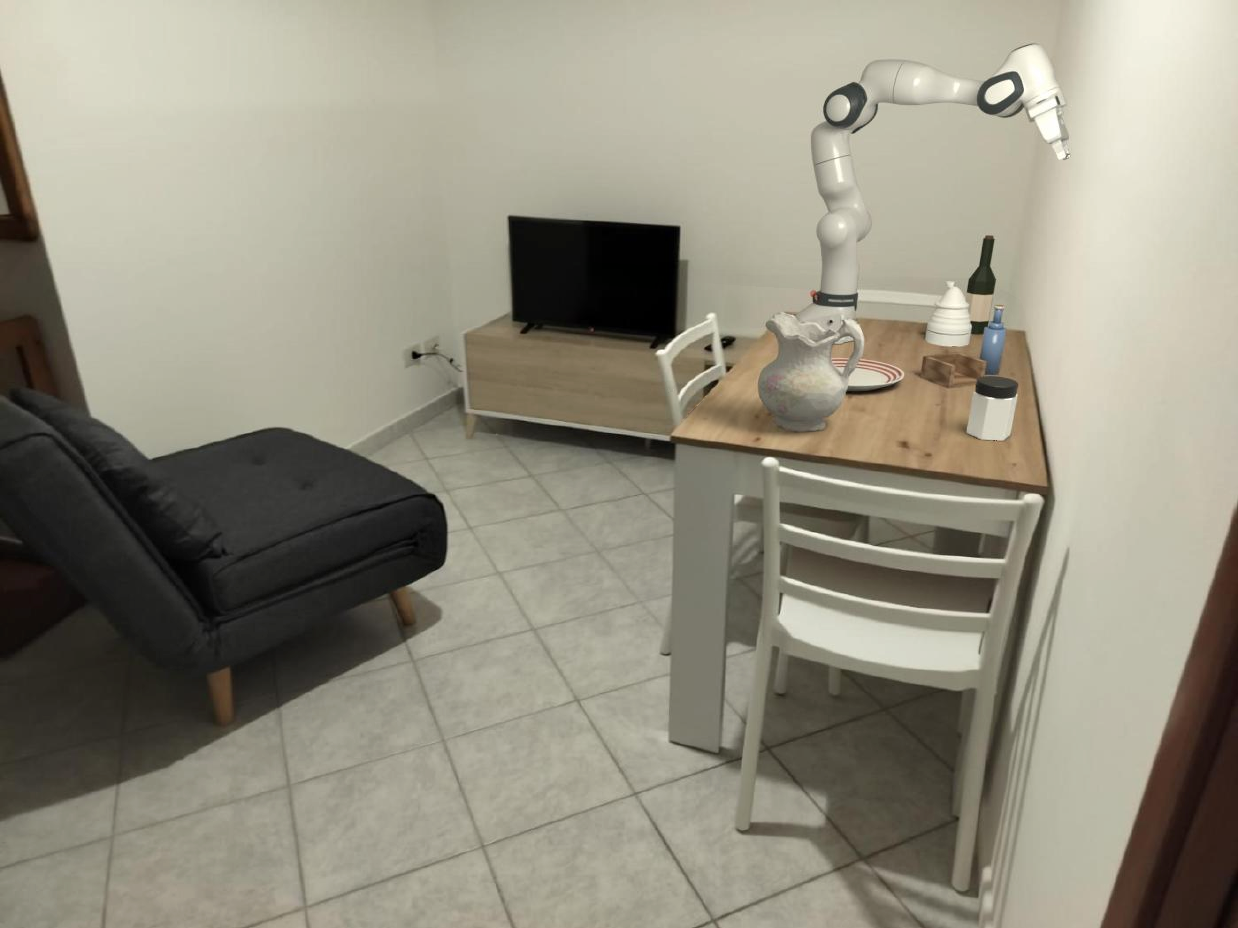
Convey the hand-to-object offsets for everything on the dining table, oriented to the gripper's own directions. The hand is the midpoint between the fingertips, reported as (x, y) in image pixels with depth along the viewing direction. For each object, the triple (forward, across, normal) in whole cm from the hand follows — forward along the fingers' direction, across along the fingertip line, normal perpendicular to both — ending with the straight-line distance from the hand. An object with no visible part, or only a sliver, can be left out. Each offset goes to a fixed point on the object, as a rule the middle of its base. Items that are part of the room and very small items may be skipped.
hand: (1064, 159), depth 211 cm
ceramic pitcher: (+34, +78, -58) cm, 102 cm away
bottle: (+44, +11, -33) cm, 56 cm away
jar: (+51, +62, -26) cm, 84 cm away
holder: (+41, +25, -39) cm, 62 cm away
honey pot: (+35, -18, -47) cm, 62 cm away
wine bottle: (+36, -36, -43) cm, 67 cm away
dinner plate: (+31, +40, -59) cm, 78 cm away
